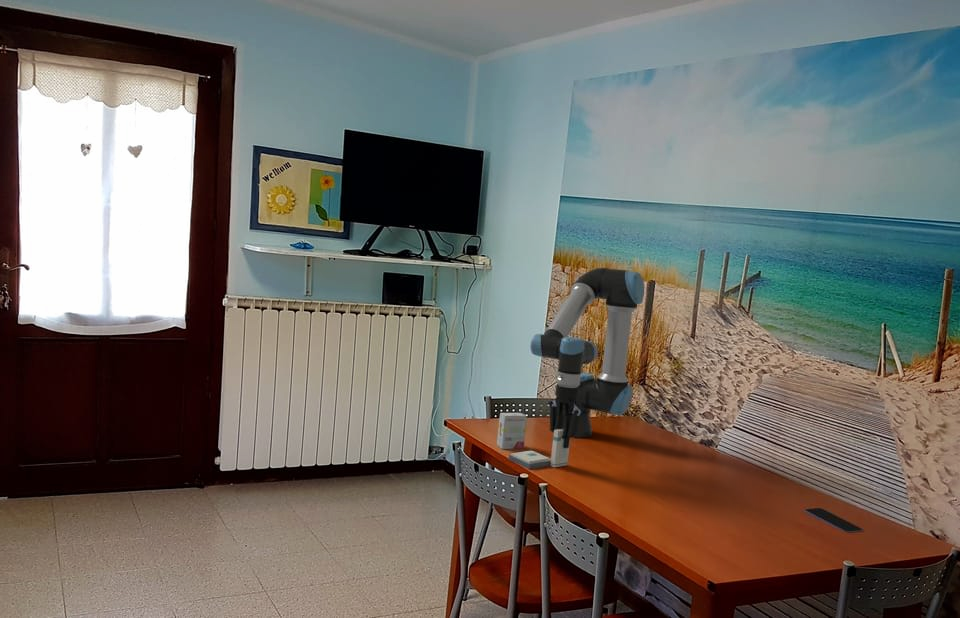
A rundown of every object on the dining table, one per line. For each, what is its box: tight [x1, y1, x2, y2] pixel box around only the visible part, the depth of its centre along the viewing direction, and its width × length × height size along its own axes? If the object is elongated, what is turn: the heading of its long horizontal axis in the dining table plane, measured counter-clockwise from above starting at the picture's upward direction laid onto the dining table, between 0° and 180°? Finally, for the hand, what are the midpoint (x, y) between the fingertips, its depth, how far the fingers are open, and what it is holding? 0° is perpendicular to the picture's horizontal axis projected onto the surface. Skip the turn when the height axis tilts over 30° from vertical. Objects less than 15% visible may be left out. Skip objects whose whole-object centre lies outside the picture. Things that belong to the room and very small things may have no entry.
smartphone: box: [804, 507, 864, 534], centre depth 204 cm, size 7×1×15 cm
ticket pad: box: [508, 450, 551, 470], centre depth 230 cm, size 10×10×2 cm
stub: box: [549, 429, 571, 468], centre depth 229 cm, size 6×2×12 cm, turn 128°
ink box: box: [496, 412, 527, 450], centre depth 245 cm, size 9×5×12 cm, turn 112°
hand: (559, 455), depth 230 cm, fingers closed on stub, 2 cm apart
